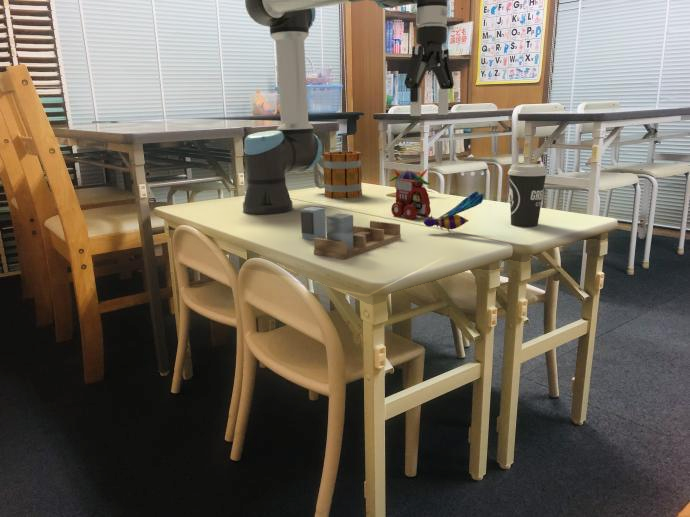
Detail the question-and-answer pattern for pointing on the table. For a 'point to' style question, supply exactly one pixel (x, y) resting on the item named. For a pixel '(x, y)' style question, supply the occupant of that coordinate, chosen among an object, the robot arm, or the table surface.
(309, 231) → the blue gray block
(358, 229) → the wooden block holder
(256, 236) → the table surface
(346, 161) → the mug
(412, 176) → the toy animal
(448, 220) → the toy
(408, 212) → the toy fire truck
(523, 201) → the coffee cup
